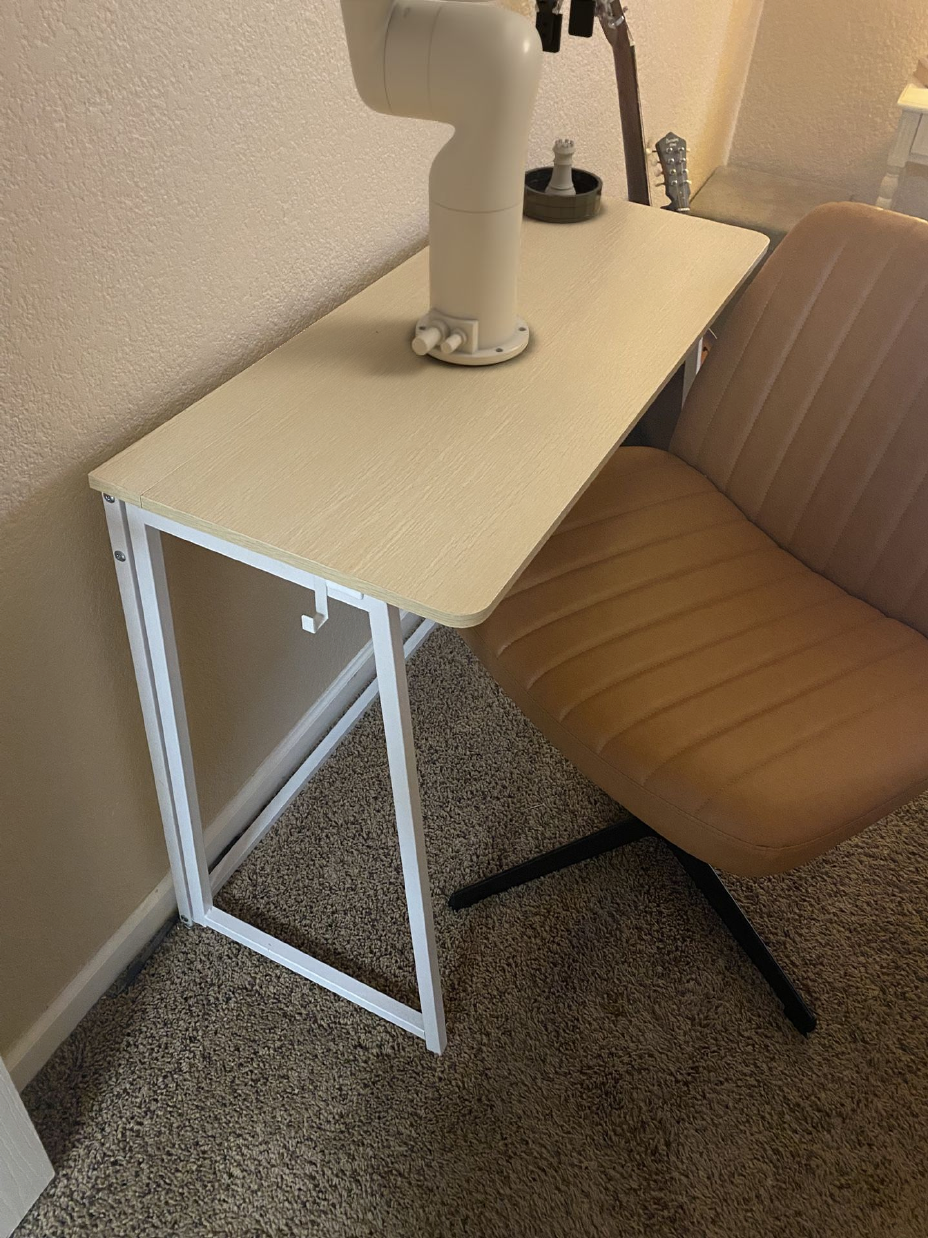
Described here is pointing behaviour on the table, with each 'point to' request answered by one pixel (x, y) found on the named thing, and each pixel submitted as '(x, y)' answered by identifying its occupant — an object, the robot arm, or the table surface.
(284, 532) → the table surface
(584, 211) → the pan
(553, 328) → the table surface
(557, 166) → the rook chess piece
